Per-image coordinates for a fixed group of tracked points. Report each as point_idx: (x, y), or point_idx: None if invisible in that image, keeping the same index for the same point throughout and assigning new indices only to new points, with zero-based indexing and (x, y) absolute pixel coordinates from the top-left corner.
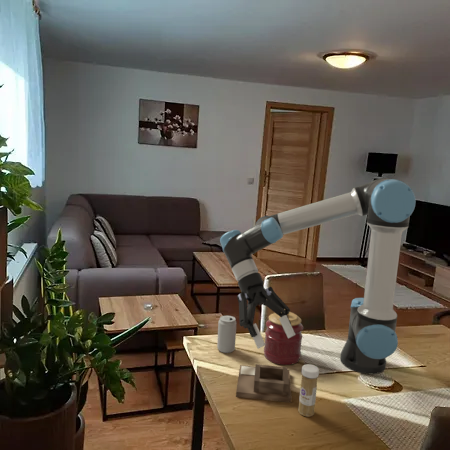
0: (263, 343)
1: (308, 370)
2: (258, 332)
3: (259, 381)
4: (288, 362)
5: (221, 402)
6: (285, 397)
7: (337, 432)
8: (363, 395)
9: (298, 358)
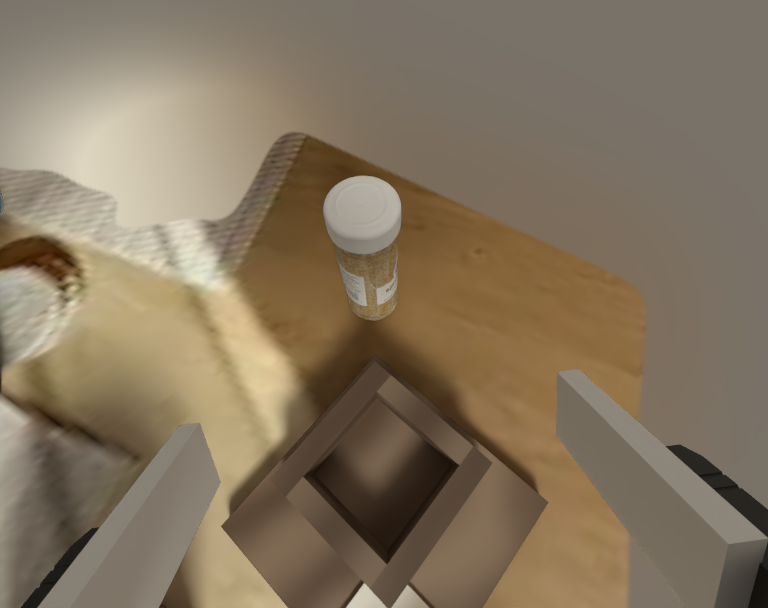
0: (578, 378)
1: (388, 193)
2: (651, 444)
3: (473, 446)
4: None
5: None
6: (391, 369)
7: None
8: (147, 273)
9: None
